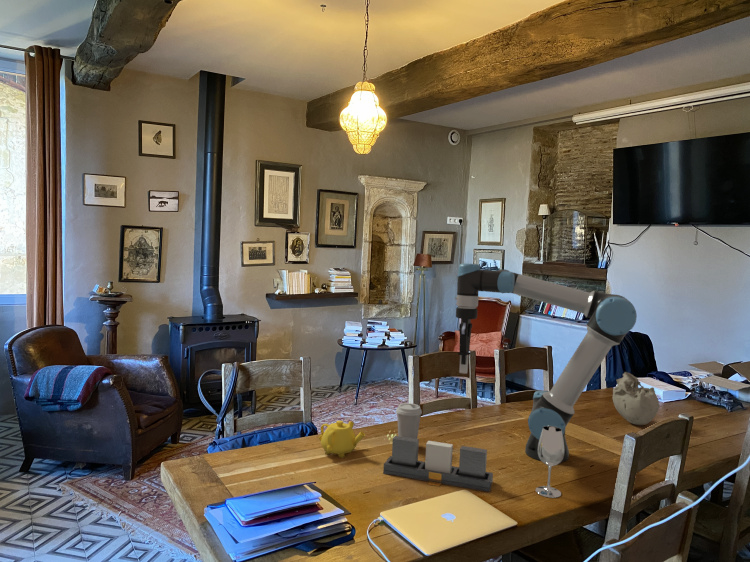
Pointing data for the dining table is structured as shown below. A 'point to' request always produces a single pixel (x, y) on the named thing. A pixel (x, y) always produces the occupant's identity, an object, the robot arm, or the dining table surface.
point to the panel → (438, 457)
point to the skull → (635, 400)
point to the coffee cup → (408, 420)
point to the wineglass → (550, 456)
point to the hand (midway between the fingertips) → (463, 372)
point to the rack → (408, 466)
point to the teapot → (339, 438)
